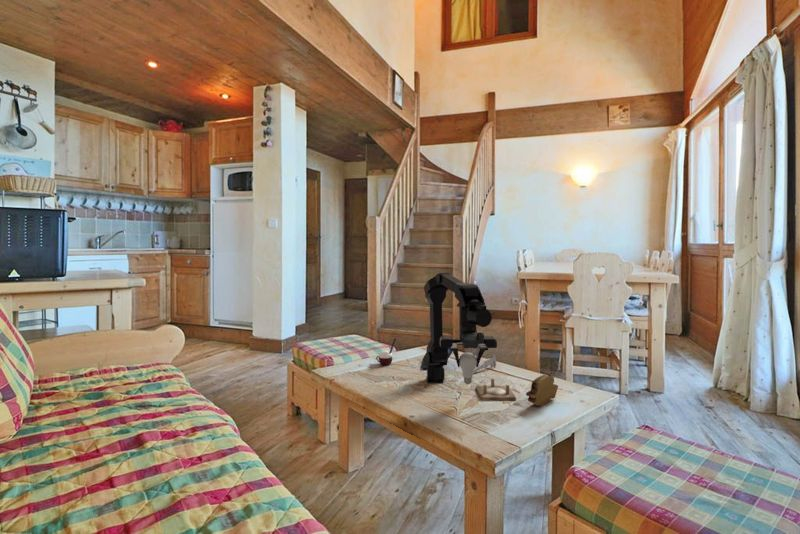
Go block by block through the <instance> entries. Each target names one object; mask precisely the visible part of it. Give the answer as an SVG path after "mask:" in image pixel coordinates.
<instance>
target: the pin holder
mask: <svg viewBox="0 0 800 534" xmlns="http://www.w3.org/2000/svg"><path fill="white" fill-rule="evenodd" d="M475 389H476V391H478V392H477V394H478V396H479V400H481V401H516V400H517V397H516V396H515V394H514V392H513V391H512V390H511V388H510V385H509V384H505V385H495V378H491V379H490V385H487V384H483V385H475Z"/></svg>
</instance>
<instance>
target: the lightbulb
mask: <svg viewBox="0 0 800 534" xmlns="http://www.w3.org/2000/svg"><path fill="white" fill-rule="evenodd" d="M476 365H477V359H476V355H475V354H474V353H472V352H468V351H467V352H463V353H462V354H461V355H459V368H461V372H462V377H463V383H465V384H466V385H470V384H472V381H473V379H472V378H473V371H474V369H475V367H476Z"/></svg>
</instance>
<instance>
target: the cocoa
mask: <svg viewBox="0 0 800 534" xmlns="http://www.w3.org/2000/svg"><path fill="white" fill-rule="evenodd" d="M396 340H397V338H394V339H393V342H392V344H391V347H390V350H389V351H388V350H386V349H385V350H383V351H380V352H379V353H378V356H376V357H375V360H376V361H377V362H378V363H379V364H381V366H390V365H391V364H392V362H393V353H392V352H393V349H394V346H395V343H396Z"/></svg>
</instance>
